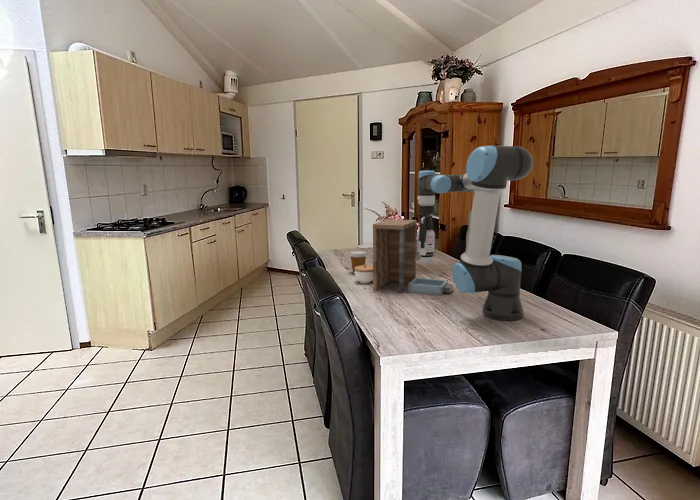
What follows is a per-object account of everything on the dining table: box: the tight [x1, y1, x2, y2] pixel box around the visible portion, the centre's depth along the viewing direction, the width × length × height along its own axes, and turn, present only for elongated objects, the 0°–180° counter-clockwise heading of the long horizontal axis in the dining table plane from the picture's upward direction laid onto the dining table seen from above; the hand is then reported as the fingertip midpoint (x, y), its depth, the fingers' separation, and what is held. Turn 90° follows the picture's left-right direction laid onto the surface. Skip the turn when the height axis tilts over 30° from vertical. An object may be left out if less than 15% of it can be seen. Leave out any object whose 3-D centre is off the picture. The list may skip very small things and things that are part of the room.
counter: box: [372, 218, 417, 294], centre depth 199 cm, size 20×15×32 cm
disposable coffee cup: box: [349, 250, 368, 273], centre depth 229 cm, size 10×10×12 cm
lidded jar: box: [354, 263, 373, 284], centre depth 210 cm, size 11×11×9 cm
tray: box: [407, 277, 454, 296], centre depth 194 cm, size 13×19×4 cm
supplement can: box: [416, 229, 436, 265], centre depth 192 cm, size 8×8×15 cm
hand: (425, 253), depth 192 cm, fingers closed on supplement can, 8 cm apart
